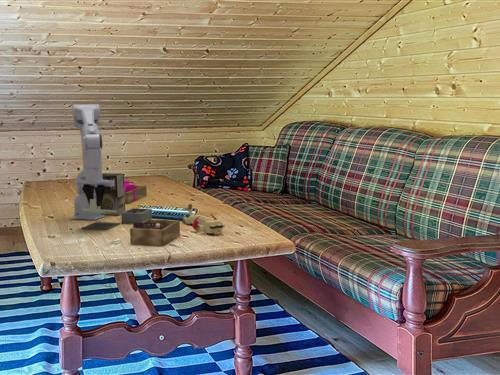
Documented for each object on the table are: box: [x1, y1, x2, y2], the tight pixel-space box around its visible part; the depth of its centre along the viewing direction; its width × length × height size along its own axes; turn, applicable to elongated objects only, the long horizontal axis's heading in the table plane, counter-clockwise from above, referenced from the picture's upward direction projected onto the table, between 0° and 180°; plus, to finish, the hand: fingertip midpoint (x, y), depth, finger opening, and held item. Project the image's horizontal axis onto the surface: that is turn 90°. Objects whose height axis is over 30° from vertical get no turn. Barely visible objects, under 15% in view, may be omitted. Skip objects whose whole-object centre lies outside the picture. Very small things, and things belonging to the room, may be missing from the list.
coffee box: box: [100, 172, 126, 216], centre depth 248 cm, size 9×6×16 cm
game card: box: [132, 223, 161, 230], centre depth 202 cm, size 7×5×9 cm
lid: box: [82, 199, 117, 215], centre depth 223 cm, size 9×11×5 cm
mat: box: [81, 221, 122, 231], centre depth 225 cm, size 10×11×1 cm
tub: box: [120, 207, 153, 225], centre depth 234 cm, size 8×10×4 cm
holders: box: [125, 184, 181, 247], centre depth 244 cm, size 21×104×5 cm, turn 17°
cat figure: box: [181, 203, 226, 235], centre depth 220 cm, size 10×9×25 cm
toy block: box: [124, 179, 136, 202], centre depth 281 cm, size 15×6×8 cm, turn 22°
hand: (95, 205), depth 220 cm, fingers closed on lid, 2 cm apart
